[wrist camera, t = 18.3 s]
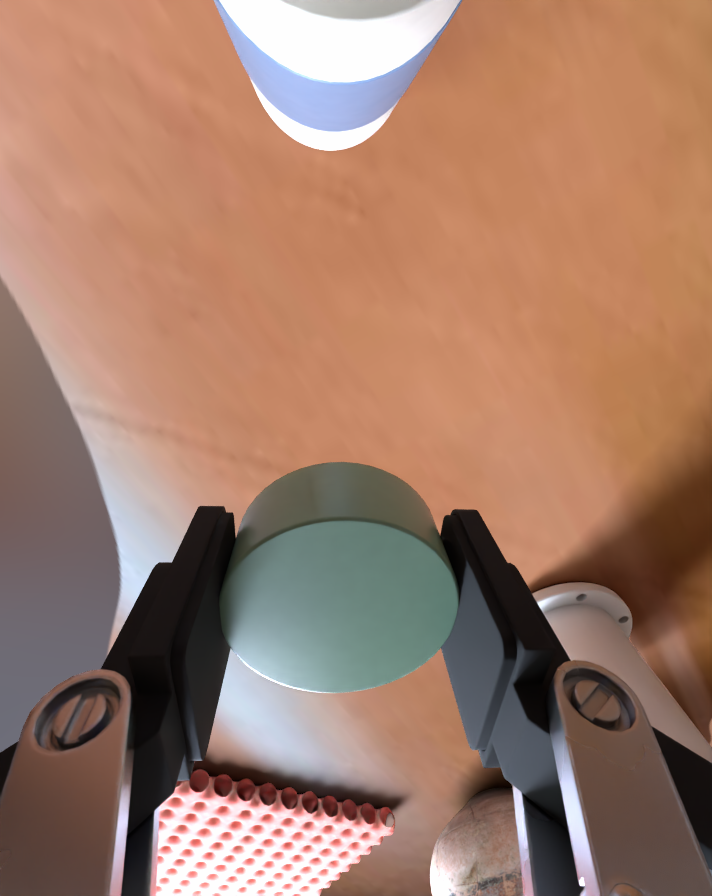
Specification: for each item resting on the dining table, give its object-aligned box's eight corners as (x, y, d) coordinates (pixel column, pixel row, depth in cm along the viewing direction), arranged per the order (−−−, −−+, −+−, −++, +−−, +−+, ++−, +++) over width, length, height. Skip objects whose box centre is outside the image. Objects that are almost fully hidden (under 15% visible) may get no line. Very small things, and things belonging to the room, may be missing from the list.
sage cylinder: (475, 519, 11) (510, 583, 9) (364, 640, 12) (372, 717, 10) (302, 422, 9) (296, 472, 7) (203, 575, 11) (176, 650, 9)
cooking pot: (517, 849, 59) (561, 988, 48) (390, 846, 55) (408, 995, 45) (610, 750, 49) (695, 898, 38) (462, 738, 45) (508, 899, 34)
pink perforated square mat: (394, 808, 51) (397, 829, 49) (289, 900, 61) (288, 920, 59) (165, 762, 42) (158, 785, 41) (87, 877, 53) (79, 900, 51)
